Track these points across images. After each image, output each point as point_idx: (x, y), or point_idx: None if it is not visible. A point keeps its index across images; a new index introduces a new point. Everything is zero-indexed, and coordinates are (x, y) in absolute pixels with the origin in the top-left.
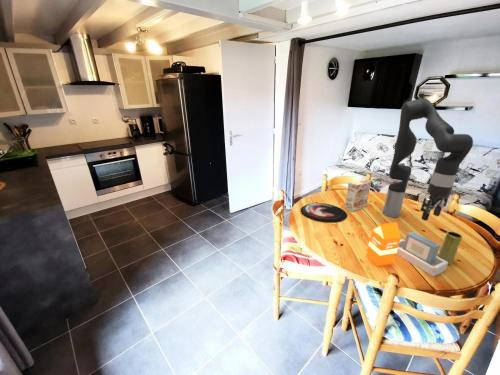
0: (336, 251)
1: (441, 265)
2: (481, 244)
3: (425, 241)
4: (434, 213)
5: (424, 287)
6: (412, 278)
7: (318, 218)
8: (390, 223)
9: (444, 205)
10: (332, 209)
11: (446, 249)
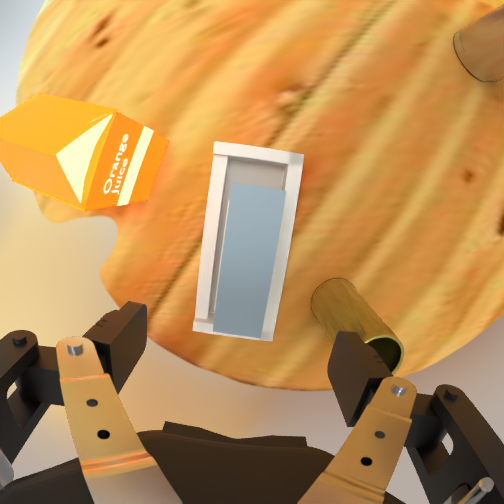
0: (60, 67)
1: (227, 334)
2: (490, 319)
3: (230, 284)
4: (340, 345)
5: None
6: (129, 278)
7: None
8: (21, 144)
9: (409, 448)
10: None
11: (329, 323)
